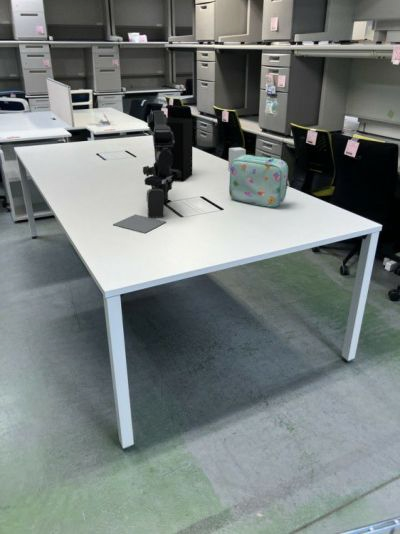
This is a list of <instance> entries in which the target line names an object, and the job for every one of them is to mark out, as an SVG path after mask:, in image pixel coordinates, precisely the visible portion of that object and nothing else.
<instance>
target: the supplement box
mask: <svg viewBox="0 0 400 534" xmlns="http://www.w3.org/2000/svg"><path fill="white" fill-rule="evenodd" d="M246 150H247V149H245V148H243V147H239V146H238V147H229V148H228V167H227V168H228V169H230V167H231V163H232V161H233V160H235V159H237V158H239V157H240V156H242V155H247V154H246V153H247V151H246ZM228 169H227V170H228Z"/></svg>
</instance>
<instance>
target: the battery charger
mask: <svg viewBox="0 0 400 534" xmlns="http://www.w3.org/2000/svg"><path fill="white" fill-rule="evenodd" d="M146 203H147V205H146V206H147V212H146V213H147V214H146V215H147V216H146V217H149V218H162V217H164V216H165V214H164V211H165V210H164V209H165V204H164V192H163V190H161V189H152V188H150V189H149V188H148V190H147V191H146Z"/></svg>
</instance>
